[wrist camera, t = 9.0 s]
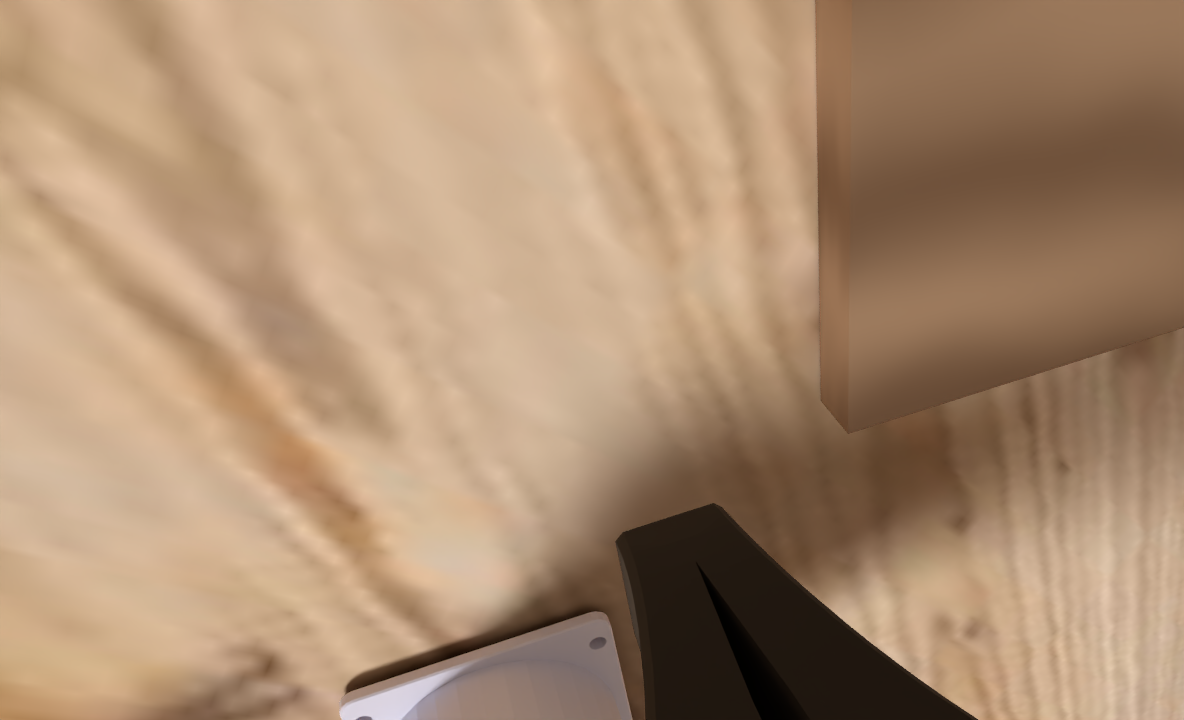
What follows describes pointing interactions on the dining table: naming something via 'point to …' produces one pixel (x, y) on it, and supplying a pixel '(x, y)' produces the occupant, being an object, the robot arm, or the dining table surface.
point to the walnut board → (992, 192)
